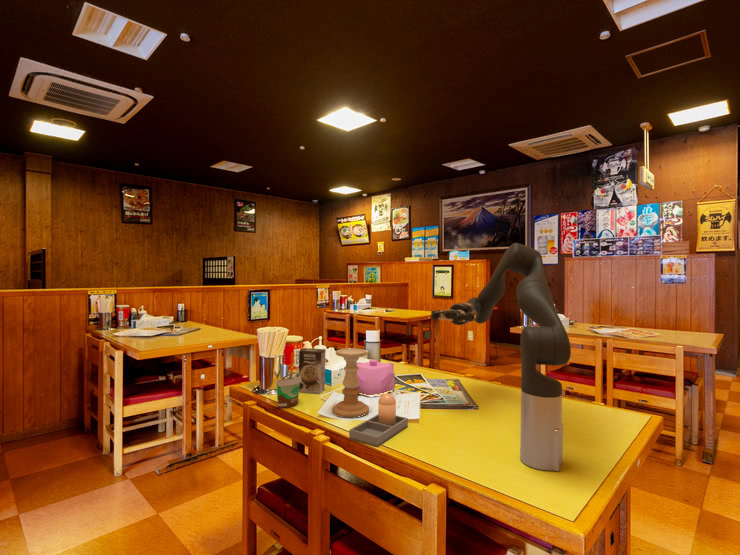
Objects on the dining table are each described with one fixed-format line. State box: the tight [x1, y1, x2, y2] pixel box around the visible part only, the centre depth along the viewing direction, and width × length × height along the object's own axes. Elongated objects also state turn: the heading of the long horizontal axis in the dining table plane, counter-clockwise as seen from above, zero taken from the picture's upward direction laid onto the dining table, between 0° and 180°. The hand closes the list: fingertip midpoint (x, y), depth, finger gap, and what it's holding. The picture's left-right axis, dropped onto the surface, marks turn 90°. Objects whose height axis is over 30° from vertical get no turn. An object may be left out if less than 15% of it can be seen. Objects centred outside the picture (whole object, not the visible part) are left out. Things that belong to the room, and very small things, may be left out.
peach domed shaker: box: [377, 393, 397, 426], centre depth 118 cm, size 5×5×10 cm
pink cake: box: [356, 358, 396, 395], centre depth 155 cm, size 17×17×12 cm
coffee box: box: [298, 347, 327, 395], centre depth 154 cm, size 9×6×16 cm
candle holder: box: [331, 347, 370, 418], centre depth 131 cm, size 12×12×20 cm
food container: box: [275, 371, 302, 409], centre depth 138 cm, size 12×6×10 cm, turn 168°
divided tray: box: [348, 413, 409, 448], centre depth 115 cm, size 9×17×2 cm, turn 147°
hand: (445, 317), depth 128 cm, fingers open, 8 cm apart
